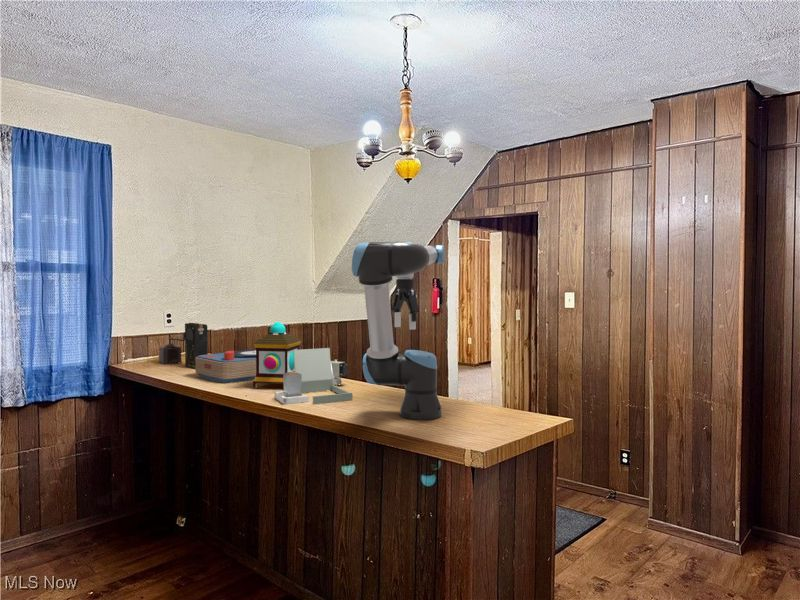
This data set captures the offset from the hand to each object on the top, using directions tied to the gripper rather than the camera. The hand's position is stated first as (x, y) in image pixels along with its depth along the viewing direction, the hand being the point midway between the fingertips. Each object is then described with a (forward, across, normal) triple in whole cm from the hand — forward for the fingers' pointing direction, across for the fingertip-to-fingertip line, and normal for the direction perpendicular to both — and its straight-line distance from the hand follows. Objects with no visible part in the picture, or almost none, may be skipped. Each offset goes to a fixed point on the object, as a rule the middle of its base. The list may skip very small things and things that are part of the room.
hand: (404, 328), depth 240 cm
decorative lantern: (+29, +45, +43) cm, 69 cm away
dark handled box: (+29, +149, +78) cm, 171 cm away
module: (+29, +12, +46) cm, 56 cm away
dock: (+29, +12, +46) cm, 56 cm away
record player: (+29, +84, +49) cm, 102 cm away
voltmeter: (+29, +123, +69) cm, 144 cm away
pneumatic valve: (+29, +35, +18) cm, 49 cm away
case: (+29, +14, +32) cm, 45 cm away
